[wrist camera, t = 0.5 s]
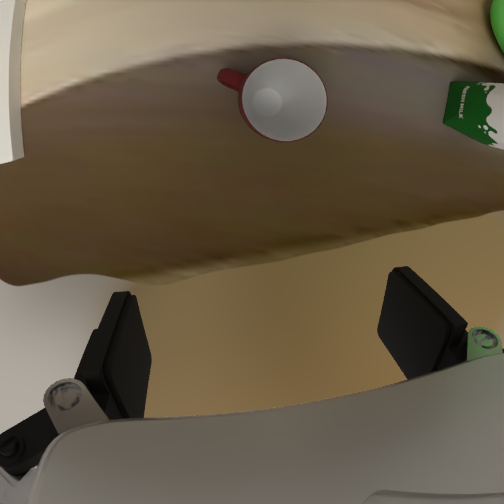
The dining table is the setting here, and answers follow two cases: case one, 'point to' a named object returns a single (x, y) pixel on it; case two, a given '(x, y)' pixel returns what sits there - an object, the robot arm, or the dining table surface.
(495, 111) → the milk carton
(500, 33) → the toy bird
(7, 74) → the keypad base
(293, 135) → the mug
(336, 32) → the dining table surface
